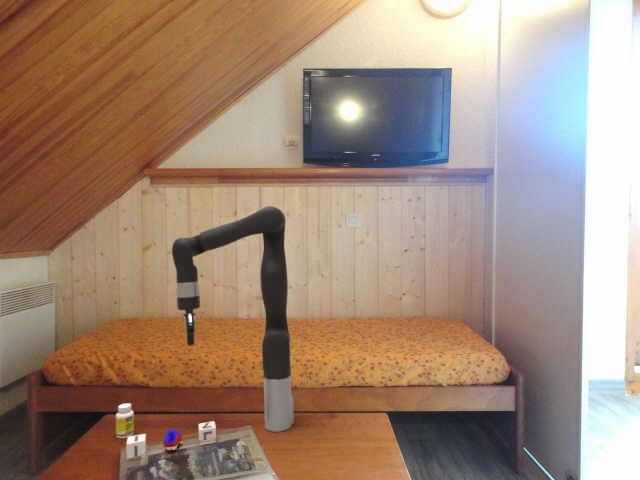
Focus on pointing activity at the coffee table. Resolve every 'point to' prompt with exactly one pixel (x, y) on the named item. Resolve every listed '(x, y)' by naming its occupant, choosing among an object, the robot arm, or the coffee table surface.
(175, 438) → the toy car
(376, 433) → the coffee table surface
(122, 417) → the supplement bottle
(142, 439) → the cream block marked 1
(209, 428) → the cream block marked 7
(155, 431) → the coffee table surface
